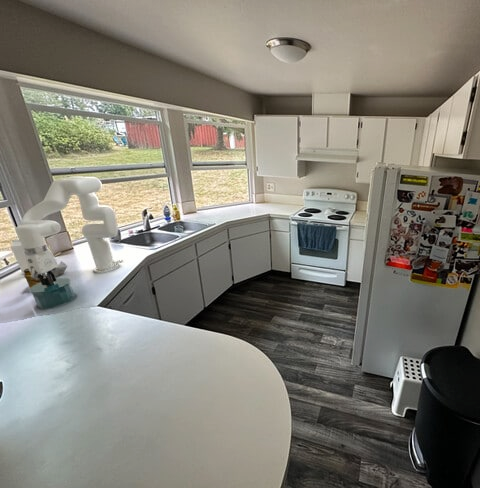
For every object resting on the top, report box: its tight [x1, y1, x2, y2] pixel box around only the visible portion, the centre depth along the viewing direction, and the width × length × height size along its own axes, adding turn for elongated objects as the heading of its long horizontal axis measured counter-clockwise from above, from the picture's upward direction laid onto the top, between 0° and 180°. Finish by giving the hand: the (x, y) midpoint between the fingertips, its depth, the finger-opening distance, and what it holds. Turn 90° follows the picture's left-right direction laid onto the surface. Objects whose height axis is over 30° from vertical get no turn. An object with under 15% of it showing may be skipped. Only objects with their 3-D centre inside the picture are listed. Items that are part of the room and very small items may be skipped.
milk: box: [10, 239, 28, 275], centre depth 157 cm, size 6×6×22 cm
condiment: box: [22, 268, 42, 294], centre depth 140 cm, size 7×8×12 cm
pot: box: [31, 282, 76, 309], centre depth 129 cm, size 14×19×10 cm
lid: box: [28, 273, 71, 294], centre depth 127 cm, size 15×15×7 cm
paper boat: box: [54, 260, 68, 277], centre depth 158 cm, size 12×6×9 cm
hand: (49, 282), depth 127 cm, fingers closed on lid, 3 cm apart
